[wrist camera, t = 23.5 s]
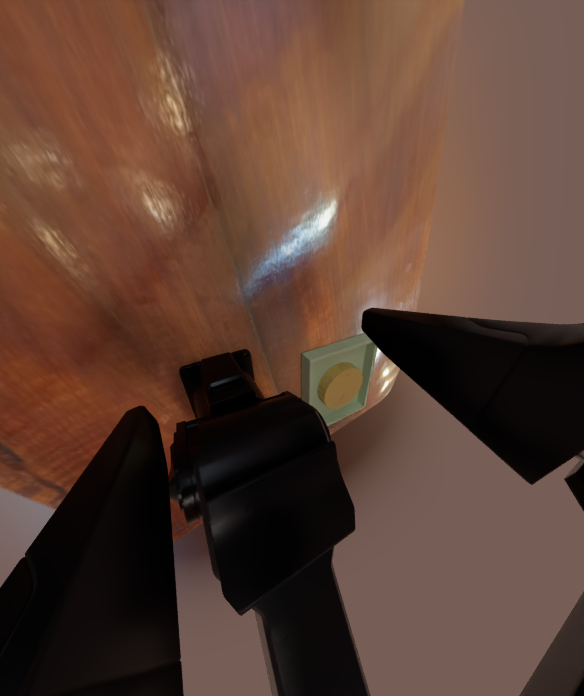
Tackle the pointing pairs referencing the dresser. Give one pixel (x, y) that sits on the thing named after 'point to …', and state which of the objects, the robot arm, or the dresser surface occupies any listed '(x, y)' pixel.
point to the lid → (339, 385)
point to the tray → (323, 358)
